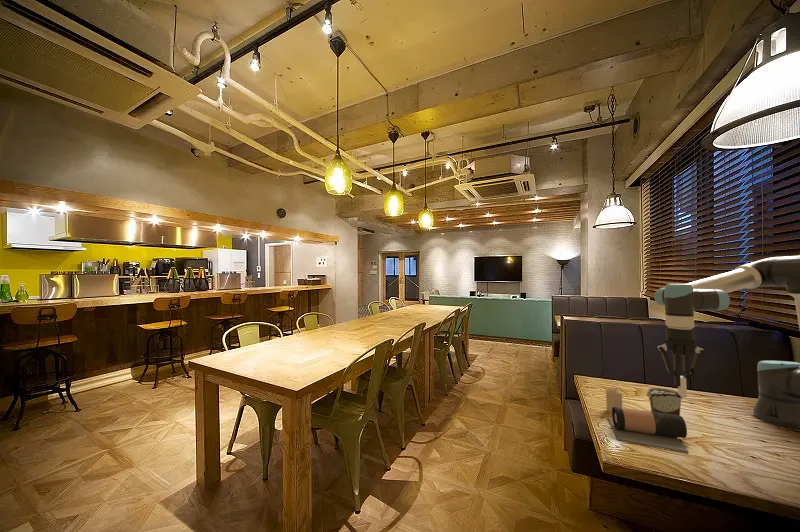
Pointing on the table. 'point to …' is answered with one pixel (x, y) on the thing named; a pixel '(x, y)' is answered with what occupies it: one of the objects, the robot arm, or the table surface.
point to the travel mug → (649, 422)
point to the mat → (648, 439)
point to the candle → (613, 398)
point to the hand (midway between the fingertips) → (682, 395)
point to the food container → (664, 401)
